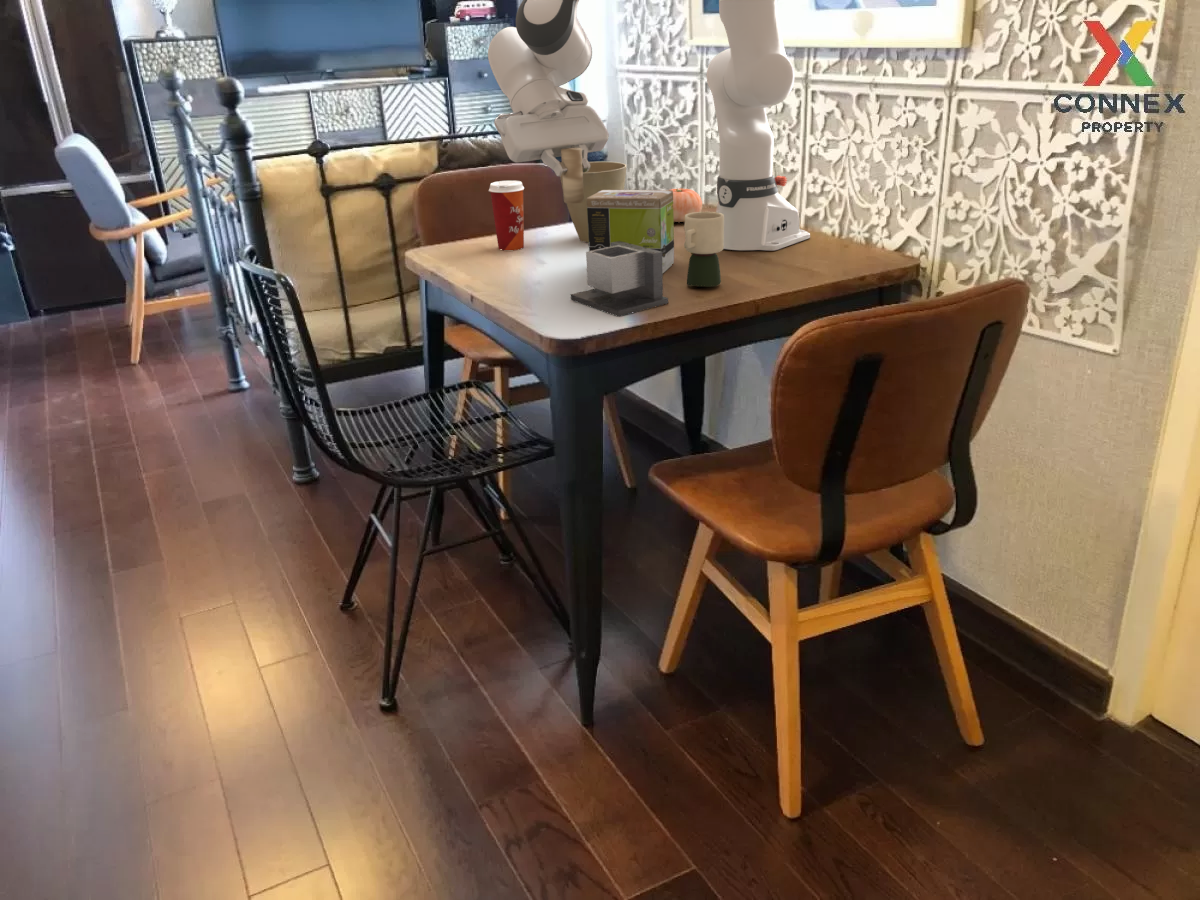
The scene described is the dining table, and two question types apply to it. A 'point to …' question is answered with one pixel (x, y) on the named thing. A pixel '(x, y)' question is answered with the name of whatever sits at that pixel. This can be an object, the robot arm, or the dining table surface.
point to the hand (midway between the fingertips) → (574, 172)
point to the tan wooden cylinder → (573, 175)
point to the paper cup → (508, 213)
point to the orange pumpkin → (685, 203)
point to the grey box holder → (623, 279)
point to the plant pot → (595, 191)
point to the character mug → (704, 247)
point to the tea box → (633, 220)
